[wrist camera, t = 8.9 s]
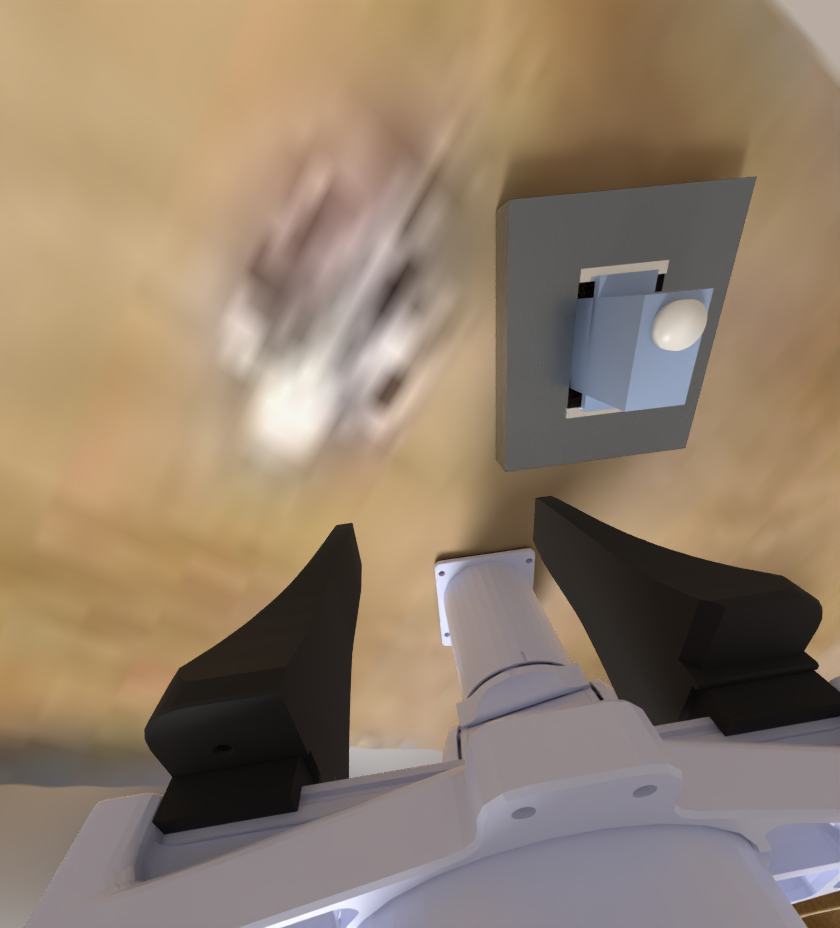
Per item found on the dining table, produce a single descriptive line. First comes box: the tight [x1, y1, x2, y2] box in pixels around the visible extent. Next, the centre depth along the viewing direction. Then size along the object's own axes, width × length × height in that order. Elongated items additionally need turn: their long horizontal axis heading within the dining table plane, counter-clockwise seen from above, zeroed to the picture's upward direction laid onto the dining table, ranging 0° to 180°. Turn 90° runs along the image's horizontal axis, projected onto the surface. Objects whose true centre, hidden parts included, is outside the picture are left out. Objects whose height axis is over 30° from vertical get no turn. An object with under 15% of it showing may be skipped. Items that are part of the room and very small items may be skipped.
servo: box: [569, 269, 714, 412], centre depth 17 cm, size 7×3×7 cm, turn 5°
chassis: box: [496, 176, 757, 472], centre depth 19 cm, size 14×12×2 cm
